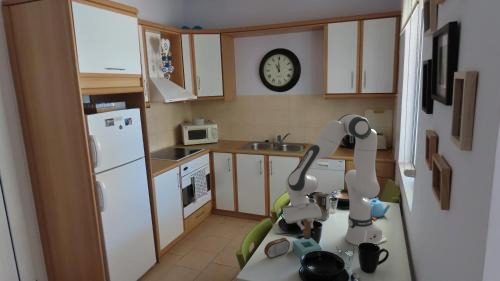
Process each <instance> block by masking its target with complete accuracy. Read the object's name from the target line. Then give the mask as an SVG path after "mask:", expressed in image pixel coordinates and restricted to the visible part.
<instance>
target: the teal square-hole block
mask: <svg viewBox="0 0 500 281" xmlns="http://www.w3.org/2000/svg"><path fill="white" fill-rule="evenodd" d="M322 248H323V246H322V247H321V245H320V244H319V243H318V242H316V240H314V239H313V237H310V239H304V238H302V239H298V240H293V241H292V250H293V252H294V253H295V252H296V253H295V254H296V255H297V256H298V257H299V259H300V258H301V257H302V256H303V255H305V254H307V253H309V252H312V251H322V250H323V249H322Z"/></svg>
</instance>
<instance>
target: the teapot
mask: <svg viewBox="0 0 500 281" xmlns="http://www.w3.org/2000/svg"><path fill="white" fill-rule="evenodd" d="M369 201H370V203H371V211H370V216H372V217H374V218H376V219H378V218H379V219H380V218H382V217H384V216H385V215H386V213H387V212H388V210H389V208H390V207H391V204H387V205H386V206H385V207H384V204H383V202H382V201H381V200H379V197H377V196H376V198H375V197H374V198H369Z"/></svg>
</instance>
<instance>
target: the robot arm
mask: <svg viewBox="0 0 500 281" xmlns="http://www.w3.org/2000/svg"><path fill="white" fill-rule="evenodd" d="M370 124H371V123H370V122H369V120H368V119H367V118H366V117H364V116H361V115H357V114H352V113H348V114H344V115H342V116H341V117H340V118H339V119H337V120H336V119H332V120H329V121H328V122H327V124H326V125H325V126H324V127H323V129H322V131H321V132H320V135H319V136H318V139H316V141H315V142H314V143H313V145H311V146H310V147H309V148H308V149H307V150H306V152H305V154H304V155H303V157H302V158H301V160H300V161H299V163H298V164H297V166H296V167H295V169H293V170H292V171H291V173H290V174H289V175H288V176H287V178H285V187H286V188H285V190H286V192H287V195H288V197H289V202H290V205H285V206H283V207H282V212H283V214H284V220H285V223H286V224H287V225H288V224H294V223H296V224H297V225H298V227H299V228H300V230H301V231H304V229H305V227H304V224H303V222H304V219H307V218H308V219H310V220H311V226H310V230H311V229H314V224H313V223H314V220H321V219H320V218H321V217H322V213H321V210H320V208H319V206H318V205H317V204H316V200H315V199H313V198H309V197H307V196H306V195H308V194H312V193H314V192H315V191H316V190H317V189H318V186H319V183H318V182H319V181H318V179H317V178H316V177H315V176H314V175H312V174H309V171H310V169H311V168H312V166H313V165H314V163H315V162H316V161H317V160H319V159H321V158H322V159H323V158H327V157H328V158H329V157H331V156H333V154H334V153H336V151H337V150H338V147H339V145H340V144H341V142H342V140H343V138H344V137H345V136H347V135H348V136H351V137H354V138H355V144H354V152H353V160H352V161H353V162H352V163H353V166H354V168H355V169H349V170H347V172H346V173H345V174H344V181H345V183H346V186H347V187H346V188H347V193H348V199H349V214H348V217H347V221H348V224H347V226H348V228H347V231H346V234H345V237H344V238H345V240H346V241H347V242H348V243H350V244H351V245H355V246H359V245H358V244H360V243H363V242H370V243H374V244H377V245H380V244H383V243H385V242H387V241H388V240H387V237H386V236H385V235H384V234H383V231H382V228H380V226H378V225H377V224H376V223H375V222H376V221H377V218H375V217H372V216H370V211H371V203H370V201H369V200H370V199H373V198H375V197H377V196H378V195H379V193H380V190H381V188H380V184H379V181H378V180H377V178H378V177H377V172H376V158H377V150H378V135H377V134H378V133H377V131H376V130H374V129H372V128H371V125H370ZM377 245H376V246H377Z"/></svg>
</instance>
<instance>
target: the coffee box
mask: <svg viewBox="0 0 500 281" xmlns="http://www.w3.org/2000/svg"><path fill="white" fill-rule="evenodd" d="M330 195H331V194H330V193H324V192H319V191H316V192H315V193H314V194H313V195H312V196H313V198H312V199H315V200H316V204H317V205H318V206H319V208H320V210H321V213H322V217H321V218H320V219H319V220H322V221H328V219H329V218H330Z"/></svg>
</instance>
